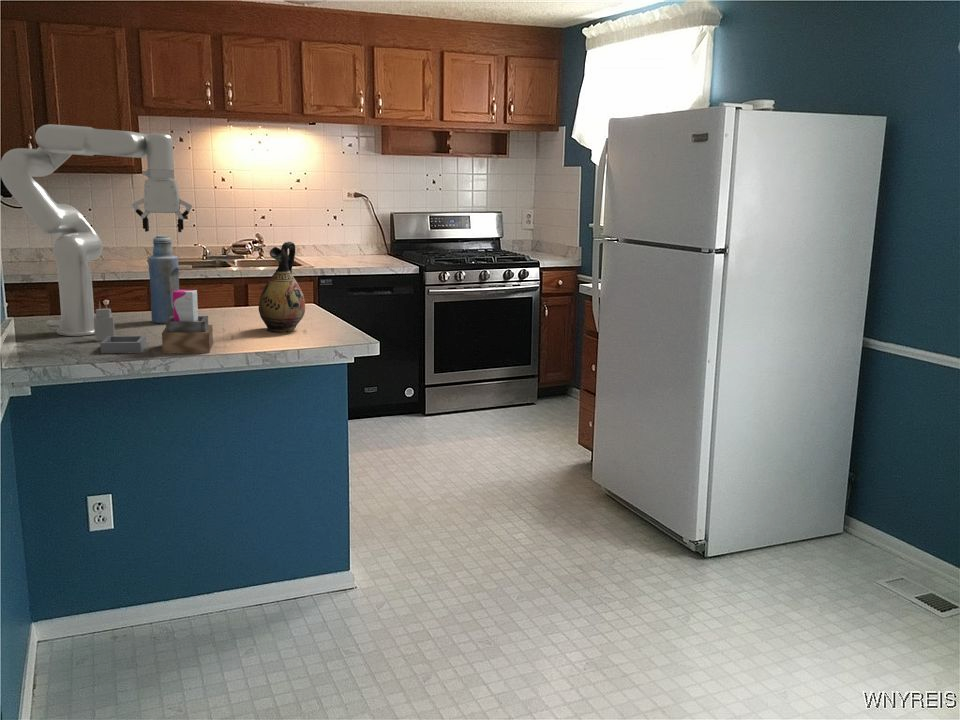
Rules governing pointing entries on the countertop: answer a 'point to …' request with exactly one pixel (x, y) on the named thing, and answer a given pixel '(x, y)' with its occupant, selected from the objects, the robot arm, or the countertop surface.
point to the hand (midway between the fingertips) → (163, 231)
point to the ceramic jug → (282, 294)
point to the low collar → (123, 344)
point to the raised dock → (187, 336)
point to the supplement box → (185, 305)
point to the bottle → (163, 279)
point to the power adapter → (103, 324)
